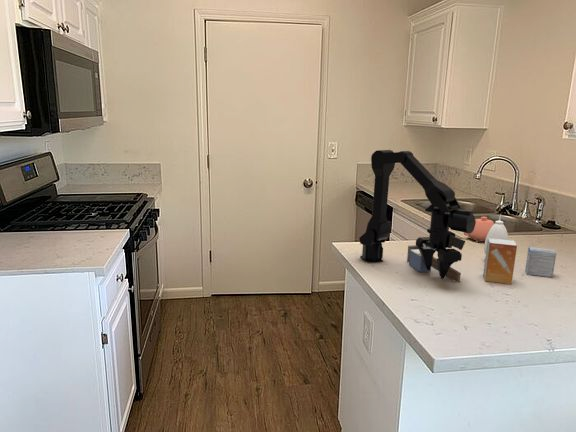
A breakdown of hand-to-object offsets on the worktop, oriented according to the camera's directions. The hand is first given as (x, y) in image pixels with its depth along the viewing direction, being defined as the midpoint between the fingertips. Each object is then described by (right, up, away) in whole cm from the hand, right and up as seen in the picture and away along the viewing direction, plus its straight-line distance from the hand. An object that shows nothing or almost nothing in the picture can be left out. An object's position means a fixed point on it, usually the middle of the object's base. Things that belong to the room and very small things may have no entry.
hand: (435, 274), depth 151 cm
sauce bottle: (+28, +2, +19) cm, 34 cm away
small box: (+20, -2, +1) cm, 20 cm away
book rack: (+1, 0, +8) cm, 8 cm away
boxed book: (-2, +1, +10) cm, 11 cm away
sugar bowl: (+35, +8, +49) cm, 61 cm away
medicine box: (+37, -1, +7) cm, 38 cm away
